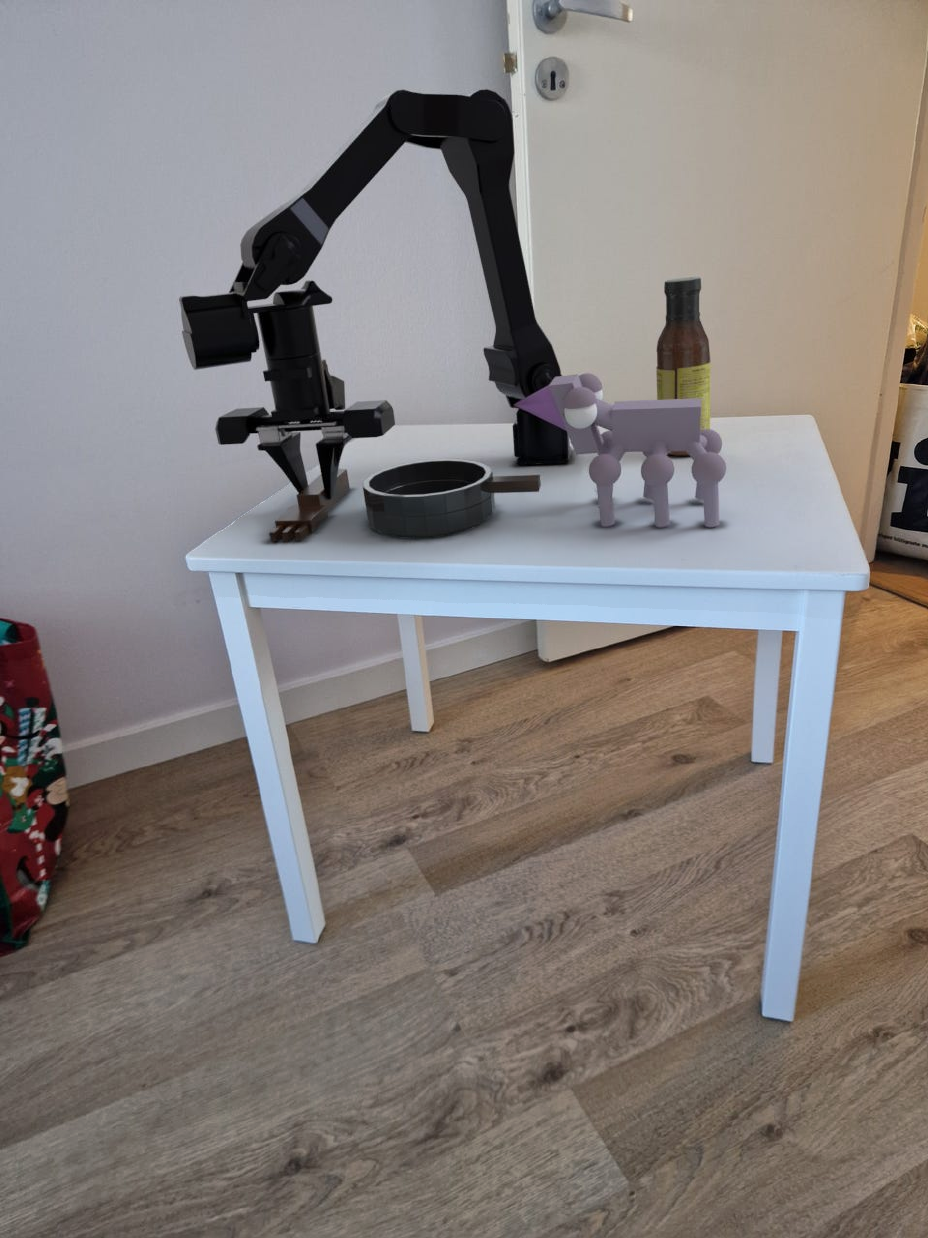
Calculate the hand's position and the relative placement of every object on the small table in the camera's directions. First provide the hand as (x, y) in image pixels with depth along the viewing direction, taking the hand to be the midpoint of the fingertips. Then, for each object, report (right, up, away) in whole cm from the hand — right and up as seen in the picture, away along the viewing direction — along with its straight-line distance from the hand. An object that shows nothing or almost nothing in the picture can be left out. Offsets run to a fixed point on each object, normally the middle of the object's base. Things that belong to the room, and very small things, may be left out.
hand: (318, 498), depth 89 cm
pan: (+13, -3, -6) cm, 15 cm away
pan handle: (+22, 0, -9) cm, 24 cm away
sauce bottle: (+44, +7, +9) cm, 45 cm away
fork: (0, -2, -1) cm, 2 cm away
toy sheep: (+32, -3, -10) cm, 34 cm away
